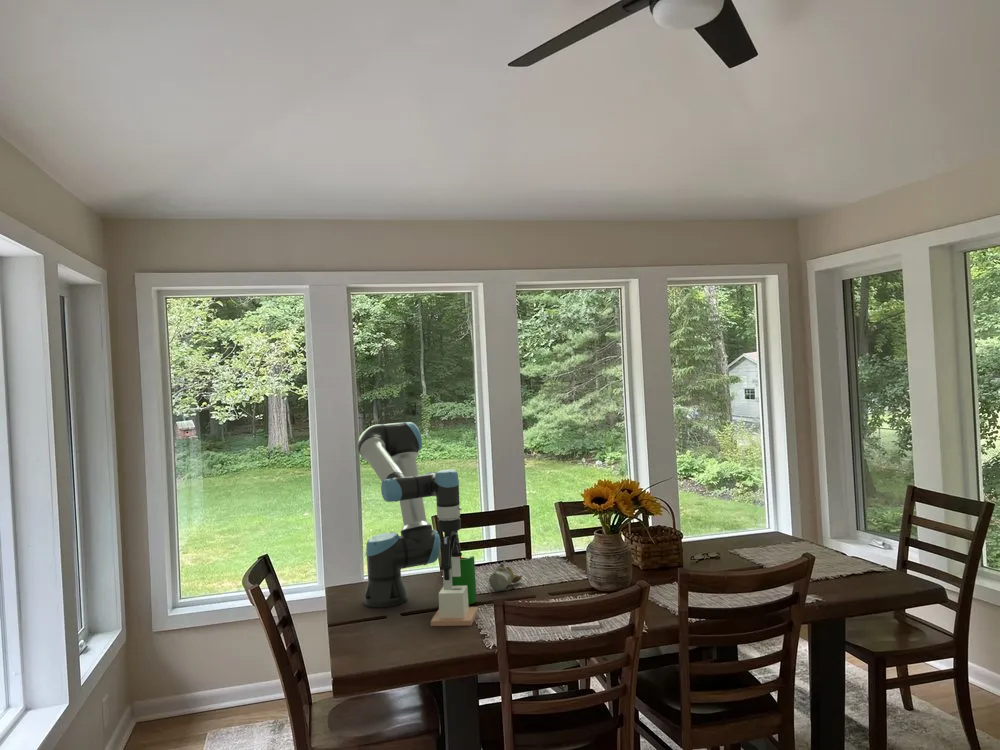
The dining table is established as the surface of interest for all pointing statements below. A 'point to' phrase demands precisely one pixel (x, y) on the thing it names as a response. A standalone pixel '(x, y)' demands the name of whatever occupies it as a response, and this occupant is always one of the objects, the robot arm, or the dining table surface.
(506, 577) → the ceramic sculpture
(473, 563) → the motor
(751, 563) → the dining table surface
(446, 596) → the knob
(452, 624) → the base
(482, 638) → the dining table surface
